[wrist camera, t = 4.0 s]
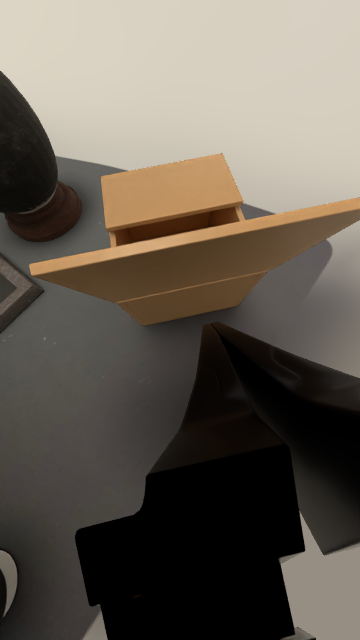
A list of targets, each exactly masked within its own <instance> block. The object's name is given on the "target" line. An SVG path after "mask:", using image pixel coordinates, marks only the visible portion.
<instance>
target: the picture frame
mask: <svg viewBox="0 0 360 640" xmlns="http://www.w3.org/2000/svg"><path fill="white" fill-rule="evenodd" d="M42 292H43V290H42V289H41V288H40V287H39V286H37V285H36V284H35V283H34V282H33V281H32V280H30V279H29V278H28V277H27V276H26V275H24V274H23V273H22V272H21V271H20V270H19V269H17V268H16V267H15V266H14V265H13V264H12V263H10V262H9V261H8V260H7V259H6V258H5V257H3V256H2V255H1V254H0V332H1V331H2V330H3V329H4V328H5V327H6V326H7V325H9V324H10V323H11V322H12V321H13V320H14V319H15V318H16V317H17V316H18V315H19V314H20V313H21V312H22V311H23V310H24V309H25V308H26V307H27V306H28V305H30V304H31V303H32V302H33V301H34V300H35V299H36V298H37V297H38V296H39V295H40V294H41V293H42Z"/></svg>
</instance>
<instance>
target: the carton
mask: <svg viewBox="0 0 360 640" xmlns="http://www.w3.org/2000/svg"><path fill="white" fill-rule="evenodd" d="M101 184H102V194H103V204H104V214H105V224H106V229H107V231H108V232H110V242H111V248H112V247H117V246H122V245H127V244H132V243H137V242H142V241H147V240H152V239H156V238H161V237H166V236H171V235H176V234H181V233H186V232H191V231H196V230H201V229H206V228H211V227H216V226H221V225H226V224H231V223H235V222H240V221H245V219H244V216H243V214H242V212H241V209H240V207H239V206H240V205H242V203H243V199H242V197H241V194H240V192H239V190H238V187H237V185H236V183H235V181H234V179H233V176H232V174H231V172H230V169H229V167H228V165H227V163H226V160H225V158H224V156H223V154H222V153H221V154H216V155H211V156H206V157H200V158H195V159H190V160H184V161H179V162H174V163H169V164H164V165H158V166H154V167H148V168H143V169H138V170H132V171H127V172H122V173H117V174H111V175H106V176H101ZM266 273H267V271H263V272H258V273H253V274H248V275H244V276H239V277H234V278H229V279H225V280H220V281H215V282H210V283H206V284H201V285H196V286H191V287H187V288H182V289H177V290H172V291H168V292H163V293H158V294H153V295H149V296H144V297H139V298H134V299H130V300H125V301H120V302H117V304H118V305H119V306H121V307H122V308H123V309H124V310H125V311H126V312H127V313H129V314H130V315H131V316H132V317H133V318H134V319H135V320H137V321H138V322H139V323H140V324H141V325H142V326H146V325H151V324H156V323H160V322H165V321H170V320H174V319H179V318H184V317H188V316H193V315H198V314H202V313H207V312H212V311H216V310H221V309H225V308H230V307H235V306H237V305H238V304H239V303H240V302H241V301H242V300H243V299H244V297H245V296H246V295H247V294H248V293H249V292H250V291H251V290H252V288H253V287H254V286H255V285H256V284H257V283H258V282H259V280H260V279H261V278H262V277H263V276H264V275H265V274H266Z"/></svg>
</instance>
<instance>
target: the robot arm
mask: <svg viewBox="0 0 360 640" xmlns="http://www.w3.org/2000/svg"><path fill="white" fill-rule="evenodd" d="M299 510H300V512H301V514H302V516H303V518H304V520H305V522H306V524H307V526H308V527H309V529H310V531H311V533H312V535H313V537H314V539H315V540H316V542H317V544H318V546H319V548H320V550H321V552H322V553H323V555H329V554H332V553H336V552H340V551H344V550H348V549H352V548H356V547H359V546H360V378H357V377H354V376H351V375H349V374H346V373H343V372H340V371H337V370H334V369H332V368H329V367H326V366H323V365H321V364H318V363H315V362H312V361H309V360H307V359H304V358H301V357H299V356H296V355H294V354H291V353H289V352H286V351H284V350H281V349H279V348H277V347H275V346H272V345H270V344H268V343H265V342H263V341H261V340H258V339H256V338H254V337H251V336H249V335H247V334H245V333H242V332H240V331H238V330H235V329H233V328H231V327H228V326H226V325H224V324H221V323H219V322H215V323H211V324H205V325H203V329H202V337H201V345H200V353H199V360H198V367H197V373H196V379H195V382H194V386H193V390H192V393H191V396H190V399H189V402H188V406H187V409H186V412H185V415H184V418H183V421H182V423H181V426H180V428H179V430H178V432H177V434H176V435H175V437H174V438H173V439H172V441H171V442H170V444H169V445H168V446H167V448H166V449H165V451H164V452H163V453H162V455H161V456H160V458H159V459H158V461H157V462H156V463H155V465H154V466H153V468H152V469H151V470H150V472H149V473H148V475H147V476H146V486H145V496H144V500H143V504H142V507H141V509H140V511H138V512H137V513H135V514H134V515H131V516H127V517H123V518H120V519H116V520H112V521H108V522H104V523H100V524H96V525H92V526H89V527H85V528H81V529H79V530H77V532H76V535H75V541H76V546H77V551H78V555H79V560H80V565H81V569H82V574H83V578H84V583H85V588H86V592H87V597H88V602H89V605H90V606H91V607H92V606H99V605H100V606H101V611H102V615H103V620H104V624H105V629H106V634H107V638H108V640H316V638H315V637H313V636H312V635H310V634H309V633H307V632H305V631H304V630H302V629H301V628H299V627H296V628H294V625H293V620H292V616H291V611H290V607H289V602H288V597H287V593H286V588H285V583H284V579H283V574H282V569H281V565H280V564H281V563H283V562H285V561H287V560H289V559H291V558H293V557H295V556H297V555H299V554H301V553H302V552H304V551H305V545H304V539H303V533H302V526H301V520H300V513H299Z"/></svg>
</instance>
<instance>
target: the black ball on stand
mask: <svg viewBox="0 0 360 640" xmlns="http://www.w3.org/2000/svg"><path fill="white" fill-rule="evenodd" d="M57 177H58V171H57V164H56V159H55V154H54V151H53V149H52V146H51V143H50V141H49V138H48V136H47V134H46V132H45V130H44V128H43V126H42V124H41V123H40V121H39V119H38V117H37V116H36V114H35V112H34V111H33V109H32V108H31V107H30V105H29V104H28V102H27V101H26V99H25V98H24V97H23V95H22V94H21V93H20V92H19V91H18V90H17V88H16V87H15V86H14V85H13V84H12V82H11V81H10V80H9V79H8V78H7V77H6V76H5V75H4V74H3V73H2V72H1V71H0V212H2V213H4V214H5V218H6V220H7V222H8V226H9V227H10V229H11V230H12V231H13V232H14V233H15V234H17V235H18V236H19V237H21V238H23V239H25V240H27V241H31V242H43V241H48V240H52V239H55V238H57V237H59V236H61V235H63V234H65V233H66V232H67V231H69V230H70V229H71V228H72V227H73V226H74V225H75V224H76V222H77V221H78V219H79V217H80V214H81V211H82V205H81V201H80V199H79V197H78V195H77V194H76V192H75V191H74V190H73V189H72V188H70V187H69V186H66V185H65V184H63V183H62V182H59V181H57Z"/></svg>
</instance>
